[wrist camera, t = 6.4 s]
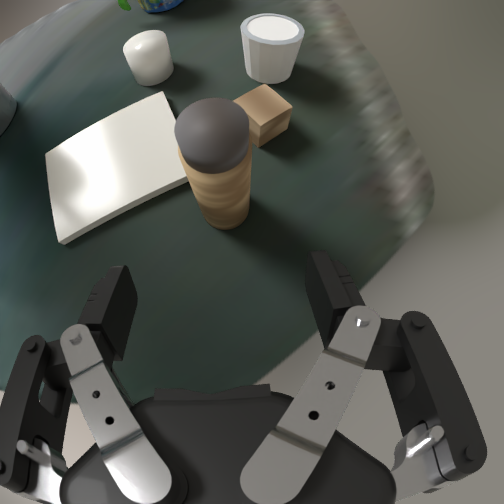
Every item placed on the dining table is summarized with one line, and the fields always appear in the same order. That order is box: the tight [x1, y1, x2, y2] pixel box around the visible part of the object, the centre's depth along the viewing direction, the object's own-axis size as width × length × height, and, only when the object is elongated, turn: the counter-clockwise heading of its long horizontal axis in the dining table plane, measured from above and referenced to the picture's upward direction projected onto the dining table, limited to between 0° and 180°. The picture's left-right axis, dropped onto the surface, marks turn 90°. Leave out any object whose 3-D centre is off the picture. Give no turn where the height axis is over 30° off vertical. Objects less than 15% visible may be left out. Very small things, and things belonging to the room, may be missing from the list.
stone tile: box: [45, 91, 189, 245], centre depth 27 cm, size 16×12×1 cm
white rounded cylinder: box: [123, 30, 174, 86], centre depth 28 cm, size 5×5×6 cm
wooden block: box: [233, 84, 292, 148], centre depth 27 cm, size 4×4×4 cm
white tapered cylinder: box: [241, 14, 305, 84], centre depth 27 cm, size 7×7×7 cm
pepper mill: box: [174, 98, 252, 230], centre depth 21 cm, size 4×4×13 cm
